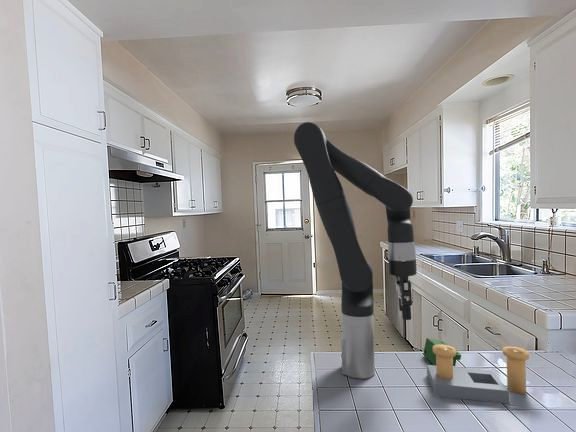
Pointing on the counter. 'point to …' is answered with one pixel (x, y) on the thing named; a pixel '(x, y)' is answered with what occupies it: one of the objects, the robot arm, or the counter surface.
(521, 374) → the tan peg
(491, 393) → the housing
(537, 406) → the counter surface
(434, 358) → the clamp
